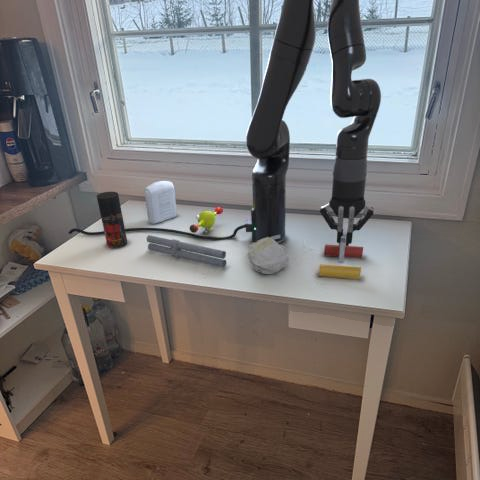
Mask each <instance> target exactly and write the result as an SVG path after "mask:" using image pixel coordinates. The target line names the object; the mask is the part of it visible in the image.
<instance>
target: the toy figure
mask: <svg viewBox="0 0 480 480" xmlns="http://www.w3.org/2000/svg"><path fill="white" fill-rule="evenodd" d="M223 212H224V210H223V207H222V206H216V207H215V209H214V211H213V212H212V211H210V210H203V211H201V212H199V214H196V215H195V219H196V220H197V222H198V223H197V224H191V225H190V226H189V231H190V233H192V234H196V233H197V232H198V231H199V228H201V227H202V228H204V231H203V233H204V234H208V232H212V230H211V228H212V227H213V226H214V225H215V223H216V216H217V215H221V214H223Z"/></svg>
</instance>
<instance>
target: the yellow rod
mask: <svg viewBox="0 0 480 480" xmlns="http://www.w3.org/2000/svg"><path fill="white" fill-rule="evenodd" d="M361 273H362V267H360V266H348V265H334V264H323V263H320V264H319V268H318V277H323V278H336V279H348V280H359V281H360V280H361Z"/></svg>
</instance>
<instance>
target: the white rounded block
mask: <svg viewBox="0 0 480 480" xmlns="http://www.w3.org/2000/svg"><path fill="white" fill-rule="evenodd" d="M143 192H144V193H143V194H144V201H145V208H146V213H147V220H148V222H149V223H150V224H152V225H155V224H159V223H162V222H164V221H167V220H170V219H173V218H176V217H177V216H178V211H177V202H176V192H175V187H174V184H173V182H172V181H170V180H159V181H155V182H153V183H151V184H149V185H148V186H146V187H145V188H144V191H143Z"/></svg>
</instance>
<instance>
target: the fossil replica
mask: <svg viewBox="0 0 480 480" xmlns="http://www.w3.org/2000/svg"><path fill="white" fill-rule="evenodd" d="M247 256H248V259H249V261H250V264H251V267H252V269H253V271H254V272H258V273H261V274H263V275H274V274H275V273H277V272H279V271H281V270H282V269H284V268H285V267H286V266H287V265H288V264H289V261H290V258H289V256H288V252H287V250H286V247H285V246H284V245H283V244H280V243H279V244H278V243H277V242H276V241H275V240H274V239H272V238H269V237H266V238H263V239H261V240H259V241H257V242H252V243H250V244H249V245H248V250H247Z"/></svg>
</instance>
